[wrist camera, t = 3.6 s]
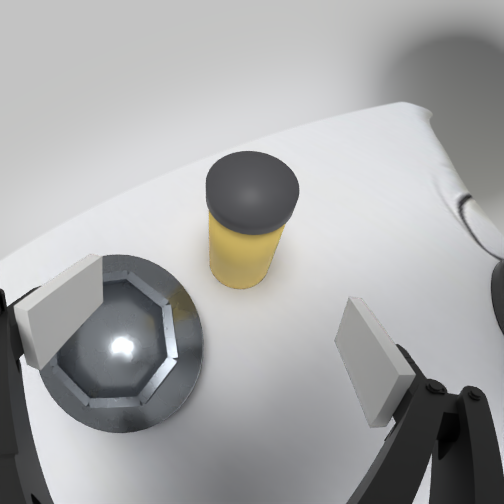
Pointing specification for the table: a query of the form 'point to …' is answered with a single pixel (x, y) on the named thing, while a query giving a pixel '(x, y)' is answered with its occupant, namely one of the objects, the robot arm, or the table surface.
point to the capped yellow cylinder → (247, 214)
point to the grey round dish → (129, 351)
